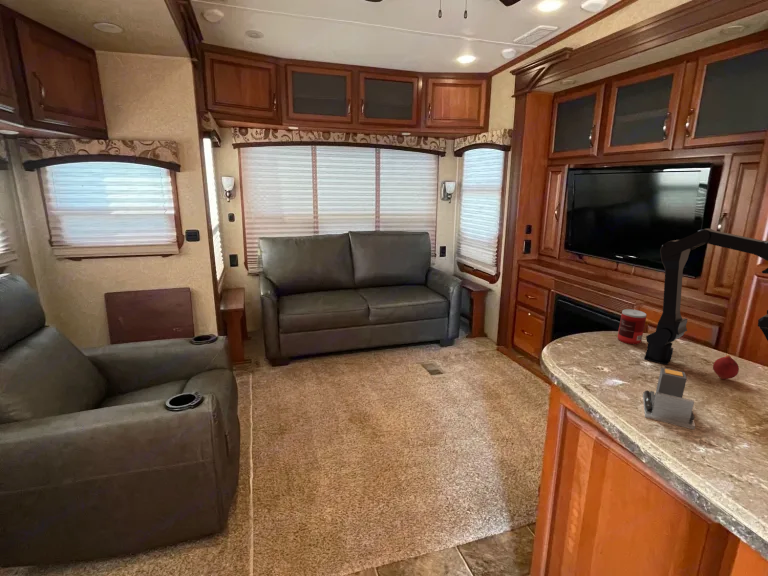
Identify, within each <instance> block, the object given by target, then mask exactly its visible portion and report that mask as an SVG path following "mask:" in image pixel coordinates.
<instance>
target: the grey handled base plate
mask: <svg viewBox="0 0 768 576" xmlns="http://www.w3.org/2000/svg"><path fill="white" fill-rule="evenodd" d="M655 393H656V396H655ZM642 400H643V401H642V403H643V412H644V413H643V414H644V418H646V419H651V420H655V421H659V422H663V423H667V424H670V425H673V426H674V425H675V426H678V427H682V428H685V429H690V430H694V431H695V429H696V423H695V421H694V420H695V415H694V412H693V408H694V405H695V401H694V400H693V399H688V398H684V397H682V398H681V397H676V396H672V395H668V394H663V393H659V392H656V391H651V390H645V391H644V392H643V393H642Z"/></svg>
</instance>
